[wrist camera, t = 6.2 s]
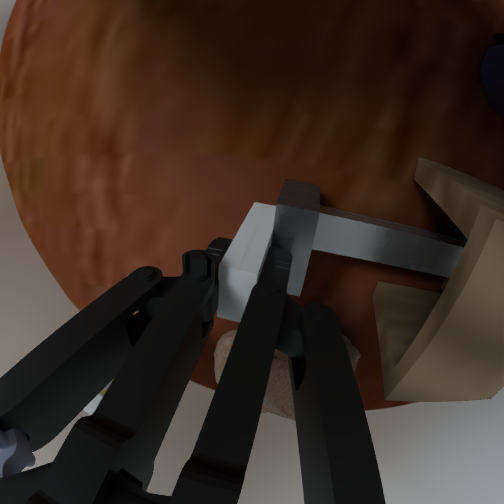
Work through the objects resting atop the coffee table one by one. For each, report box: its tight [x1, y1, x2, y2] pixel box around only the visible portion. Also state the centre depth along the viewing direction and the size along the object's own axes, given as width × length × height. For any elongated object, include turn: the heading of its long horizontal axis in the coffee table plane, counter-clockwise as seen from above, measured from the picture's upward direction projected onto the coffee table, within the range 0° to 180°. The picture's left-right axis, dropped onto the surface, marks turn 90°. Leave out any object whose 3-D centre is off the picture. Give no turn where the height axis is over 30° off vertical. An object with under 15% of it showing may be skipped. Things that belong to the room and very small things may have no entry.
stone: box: [213, 329, 361, 421], centre depth 22 cm, size 12×9×10 cm
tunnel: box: [372, 157, 504, 402], centre depth 13 cm, size 11×9×9 cm
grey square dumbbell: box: [270, 179, 468, 296], centre depth 14 cm, size 6×26×5 cm, turn 85°
